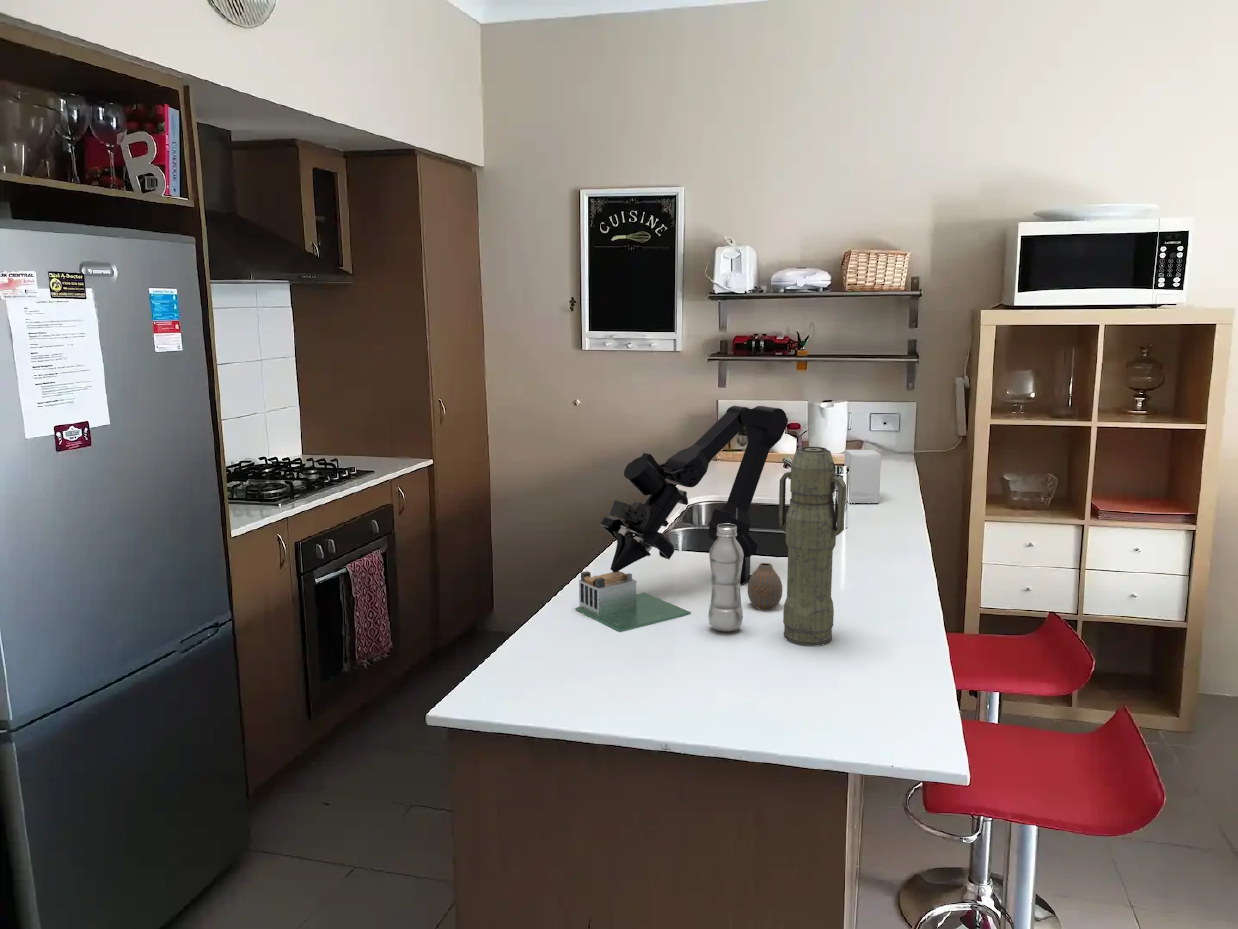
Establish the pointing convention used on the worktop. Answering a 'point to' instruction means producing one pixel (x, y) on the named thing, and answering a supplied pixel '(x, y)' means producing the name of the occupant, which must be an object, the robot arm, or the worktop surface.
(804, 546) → the thermos
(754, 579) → the vase
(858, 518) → the worktop surface
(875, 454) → the supplement box
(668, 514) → the robot arm
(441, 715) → the worktop surface
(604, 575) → the tan flat bar
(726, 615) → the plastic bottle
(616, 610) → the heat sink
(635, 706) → the worktop surface
